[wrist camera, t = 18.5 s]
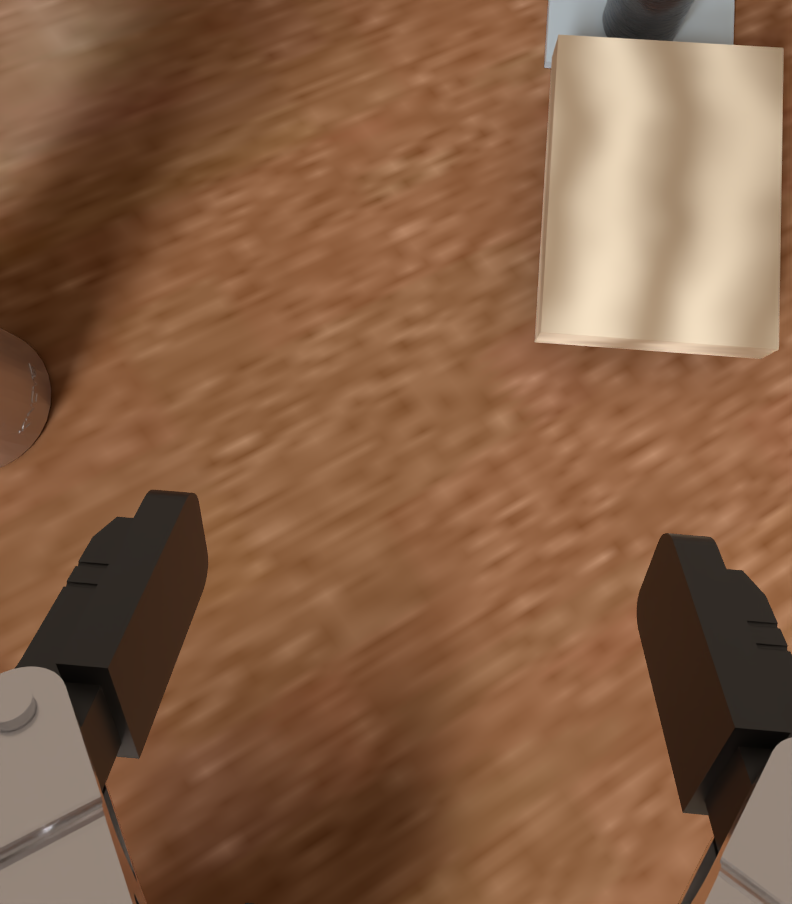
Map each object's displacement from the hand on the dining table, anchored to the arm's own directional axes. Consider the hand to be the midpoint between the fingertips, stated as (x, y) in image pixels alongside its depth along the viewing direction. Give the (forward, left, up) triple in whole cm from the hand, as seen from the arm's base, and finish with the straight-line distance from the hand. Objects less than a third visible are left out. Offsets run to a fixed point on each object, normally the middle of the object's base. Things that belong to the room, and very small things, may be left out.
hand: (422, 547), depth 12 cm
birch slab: (+12, +21, -31) cm, 39 cm away
